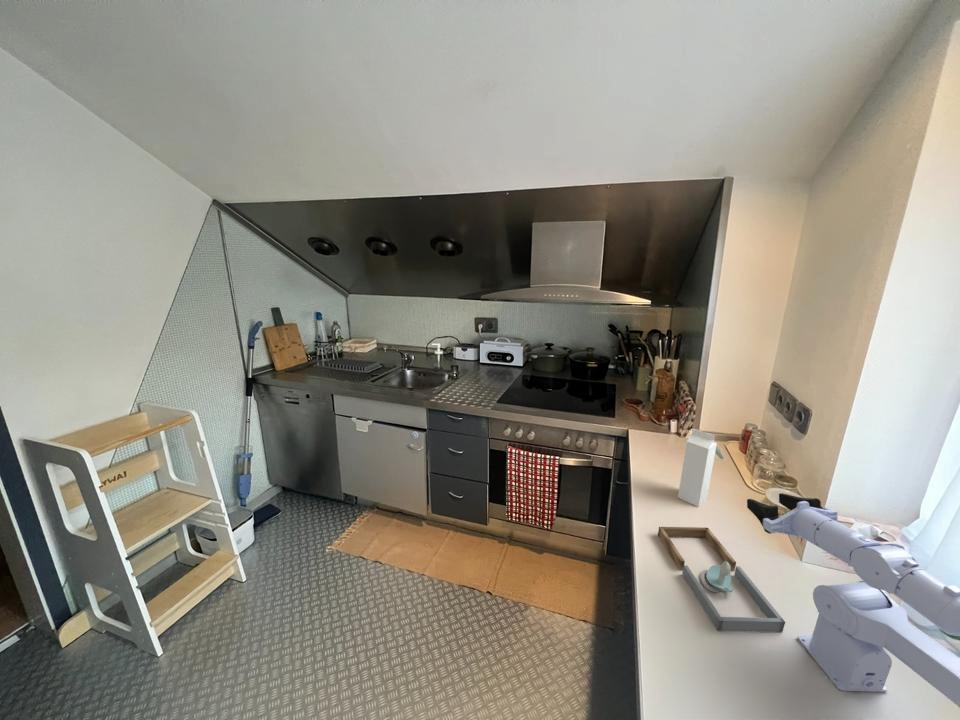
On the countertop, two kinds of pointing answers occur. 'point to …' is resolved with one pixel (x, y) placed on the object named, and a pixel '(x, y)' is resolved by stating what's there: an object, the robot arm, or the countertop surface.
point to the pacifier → (717, 577)
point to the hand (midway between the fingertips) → (764, 500)
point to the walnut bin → (692, 533)
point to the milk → (697, 467)
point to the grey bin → (738, 623)
